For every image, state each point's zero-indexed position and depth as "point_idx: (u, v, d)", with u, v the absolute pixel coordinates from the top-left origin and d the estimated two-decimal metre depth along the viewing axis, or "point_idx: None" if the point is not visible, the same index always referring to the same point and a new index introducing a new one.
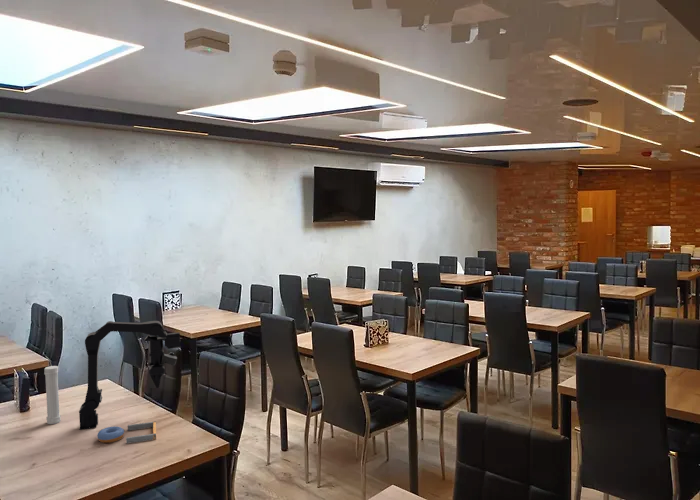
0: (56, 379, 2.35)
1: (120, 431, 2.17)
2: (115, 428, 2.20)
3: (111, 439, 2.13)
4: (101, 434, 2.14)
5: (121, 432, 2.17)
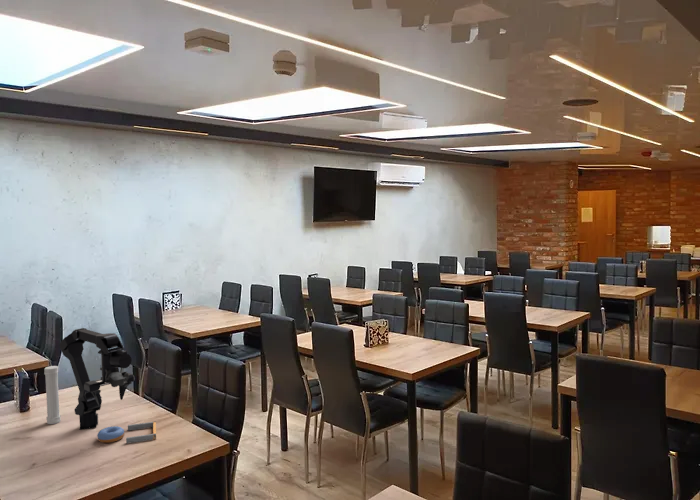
0: (56, 379, 2.35)
1: (120, 431, 2.17)
2: (115, 428, 2.20)
3: (111, 439, 2.14)
4: (101, 434, 2.14)
5: (121, 432, 2.17)
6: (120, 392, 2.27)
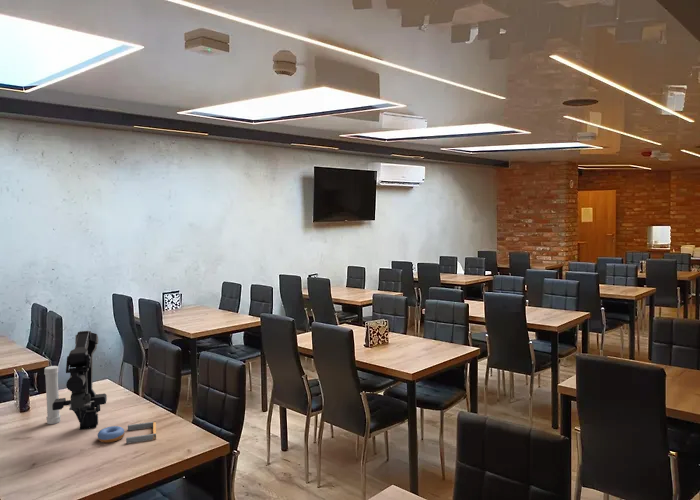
0: (56, 379, 2.35)
1: (120, 431, 2.17)
2: (115, 428, 2.20)
3: (111, 439, 2.14)
4: (101, 434, 2.14)
5: (121, 432, 2.17)
6: None
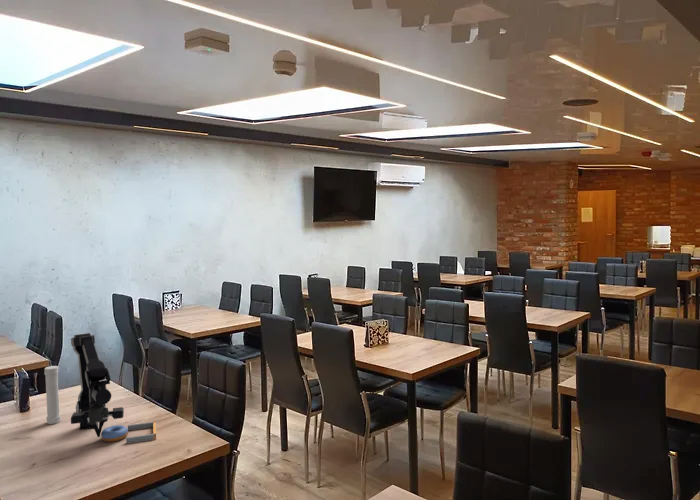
0: (56, 379, 2.35)
1: (124, 430, 2.18)
2: (119, 427, 2.21)
3: (115, 438, 2.14)
4: (105, 433, 2.15)
5: (125, 431, 2.18)
6: (98, 428, 2.16)
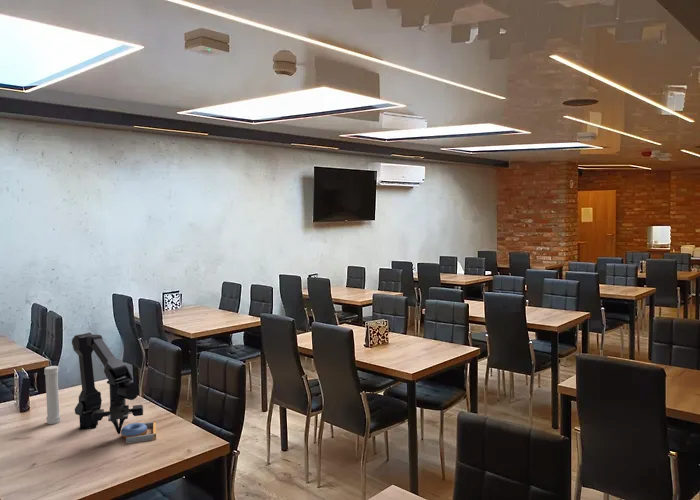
0: (56, 379, 2.35)
1: (143, 428, 2.20)
2: (139, 424, 2.23)
3: None
4: (125, 430, 2.17)
5: (144, 429, 2.20)
6: (119, 426, 2.19)
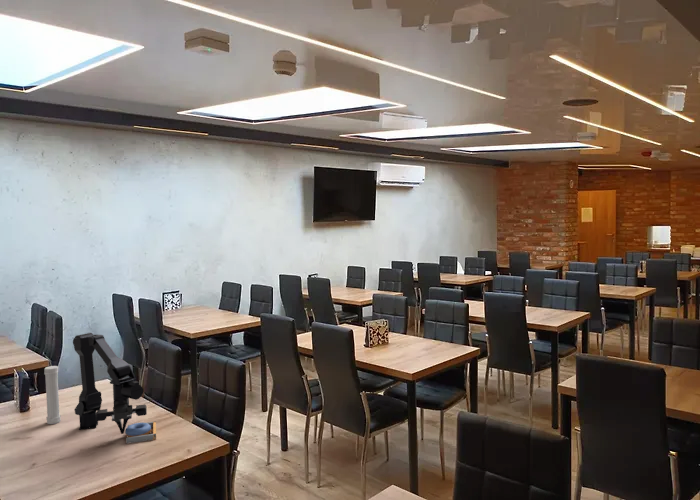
0: (56, 379, 2.35)
1: (147, 427, 2.20)
2: (143, 424, 2.23)
3: (137, 435, 2.17)
4: (128, 430, 2.18)
5: (148, 428, 2.20)
6: None
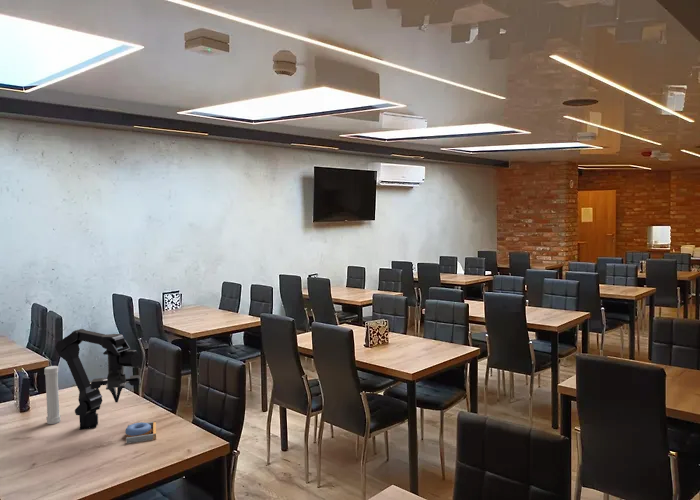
0: (56, 379, 2.35)
1: (147, 427, 2.20)
2: (143, 424, 2.24)
3: (137, 435, 2.17)
4: (128, 429, 2.18)
5: (148, 428, 2.20)
6: (117, 394, 2.26)
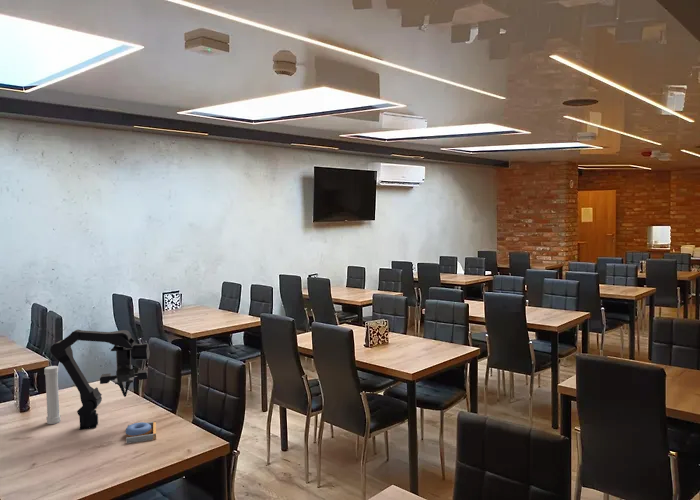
0: (56, 379, 2.35)
1: (147, 427, 2.20)
2: (143, 424, 2.24)
3: (138, 435, 2.17)
4: (129, 429, 2.18)
5: (148, 428, 2.20)
6: (125, 389, 2.33)
